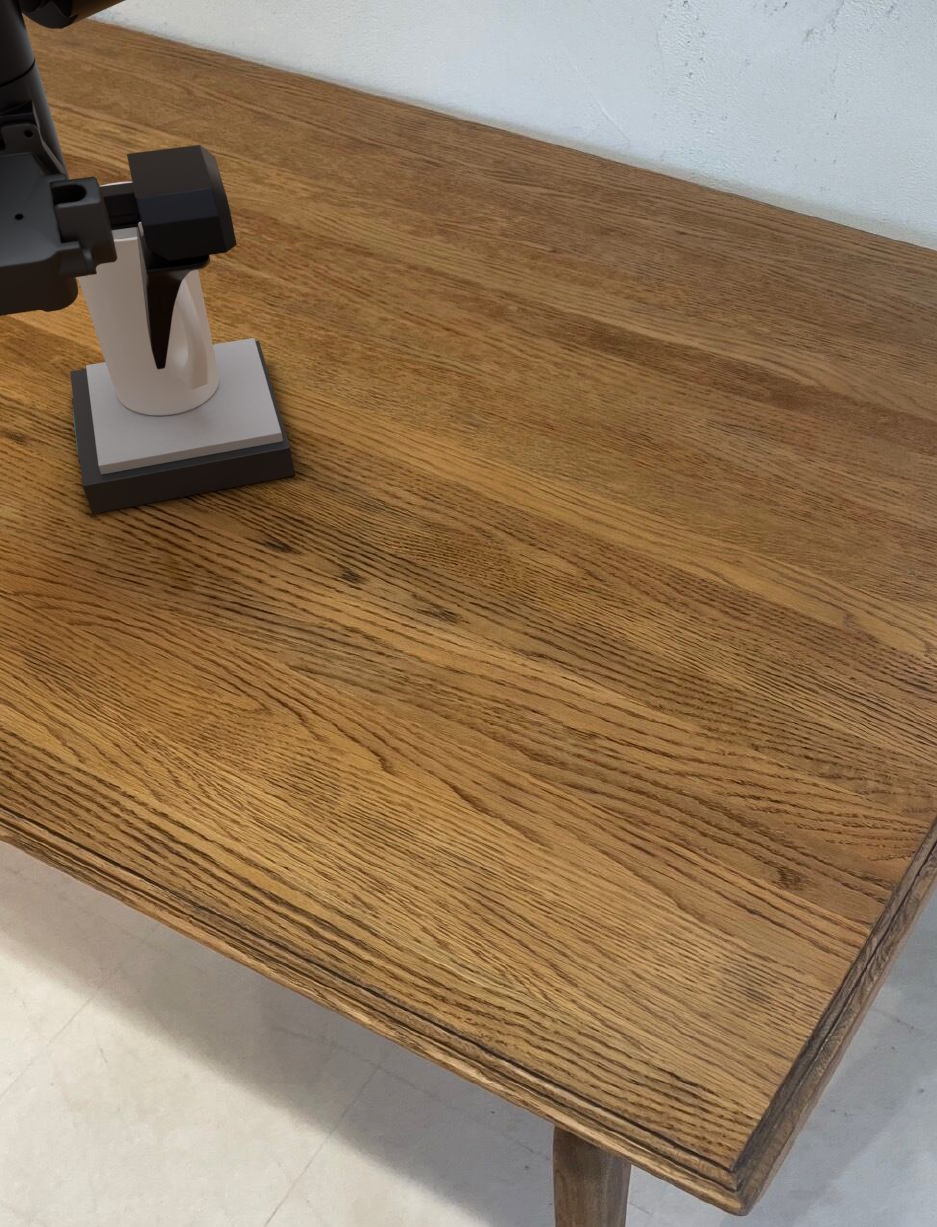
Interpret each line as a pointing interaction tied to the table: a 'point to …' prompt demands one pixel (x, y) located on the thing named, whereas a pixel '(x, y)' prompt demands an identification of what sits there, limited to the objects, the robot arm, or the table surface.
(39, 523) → the table surface
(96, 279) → the mug
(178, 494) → the scale
